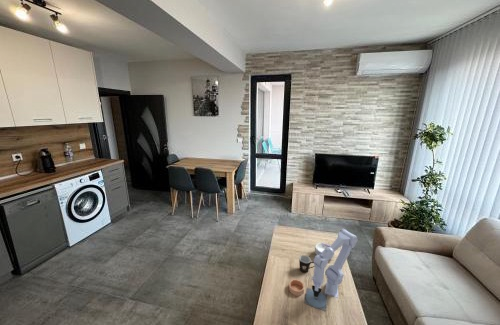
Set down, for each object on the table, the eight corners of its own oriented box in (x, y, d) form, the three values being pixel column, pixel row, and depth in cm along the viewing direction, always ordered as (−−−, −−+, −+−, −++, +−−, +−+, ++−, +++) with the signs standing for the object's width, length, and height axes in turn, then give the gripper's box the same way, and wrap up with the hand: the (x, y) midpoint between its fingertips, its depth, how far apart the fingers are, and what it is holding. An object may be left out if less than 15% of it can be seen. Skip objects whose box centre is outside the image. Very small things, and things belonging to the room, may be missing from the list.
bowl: (290, 282, 145) (291, 277, 144) (305, 287, 141) (305, 282, 140) (287, 293, 136) (287, 288, 135) (302, 298, 132) (302, 293, 131)
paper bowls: (330, 251, 179) (331, 243, 177) (335, 263, 164) (336, 254, 162) (312, 249, 180) (313, 241, 178) (316, 261, 165) (317, 253, 163)
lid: (307, 287, 140) (307, 283, 139) (327, 294, 135) (327, 289, 134) (303, 303, 128) (304, 298, 127) (325, 311, 123) (326, 306, 122)
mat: (307, 288, 140) (307, 287, 140) (327, 295, 135) (327, 294, 135) (303, 303, 128) (303, 303, 128) (325, 312, 123) (325, 311, 123)
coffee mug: (296, 270, 156) (297, 259, 153) (301, 264, 162) (302, 253, 160) (310, 278, 148) (311, 267, 146) (315, 272, 154) (316, 260, 152)
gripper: (313, 264, 135) (311, 281, 138) (310, 279, 122) (308, 298, 125) (324, 267, 132) (322, 284, 135) (322, 283, 119) (320, 302, 122)
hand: (316, 291), depth 130 cm, fingers open, 7 cm apart
